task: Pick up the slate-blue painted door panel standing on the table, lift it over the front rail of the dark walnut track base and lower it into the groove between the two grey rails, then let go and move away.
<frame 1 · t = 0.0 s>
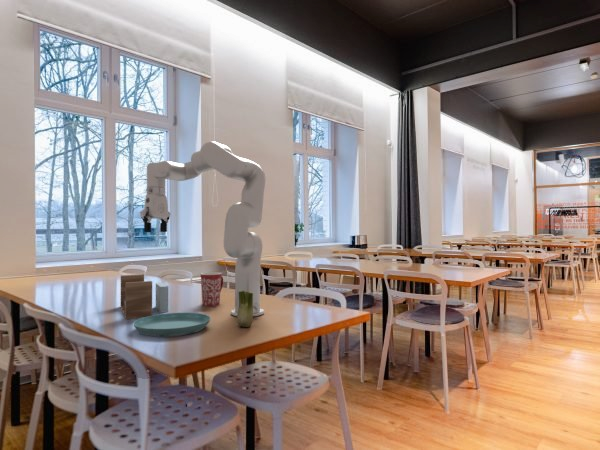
hand: (155, 232, 176), 31 cm above the table, tool pointing down, fingers open, 9 cm apart
fennel bulb: (244, 327, 138), on the table
mug: (213, 304, 179), on the table
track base: (135, 311, 162), on the table
door panel: (161, 309, 167), on the table
teal plate: (172, 330, 135), on the table
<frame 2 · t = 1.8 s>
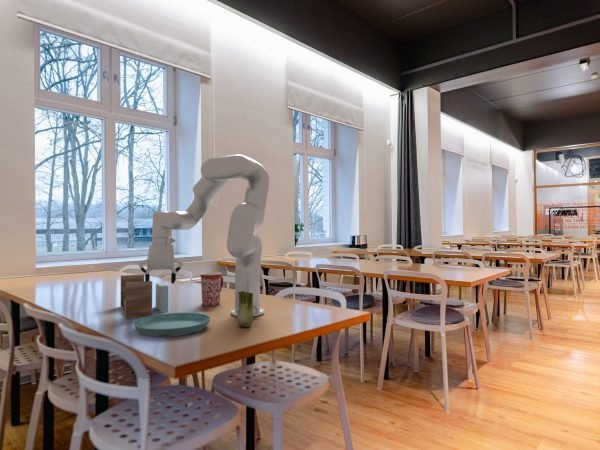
hand: (160, 283, 167), 10 cm above the table, tool pointing down, fingers open, 9 cm apart
nothing on the table moved.
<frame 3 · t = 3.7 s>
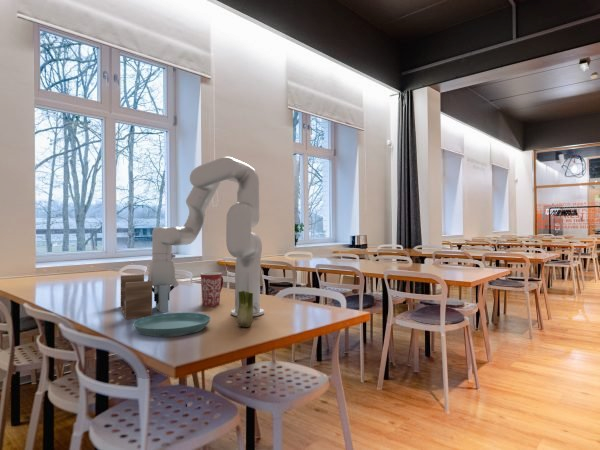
hand: (161, 302, 167), 3 cm above the table, tool pointing down, fingers closed on door panel, 3 cm apart
door panel: (161, 309, 167), on the table, touching gripper
everything else where it was.
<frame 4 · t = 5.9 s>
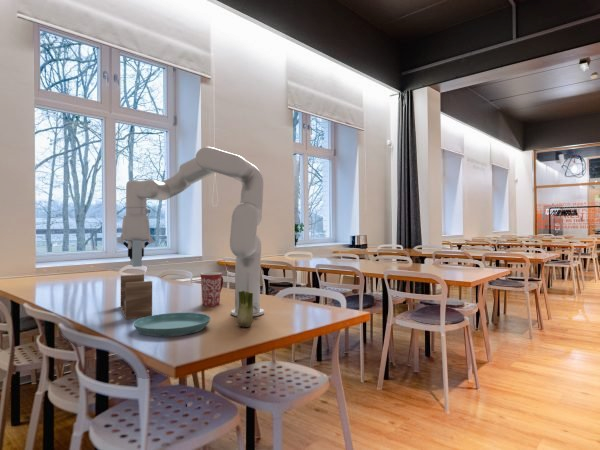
hand: (135, 258, 163), 21 cm above the table, tool pointing down, fingers closed on door panel, 3 cm apart
door panel: (135, 265, 163), point 18 cm above the table, touching gripper
everything else where it was.
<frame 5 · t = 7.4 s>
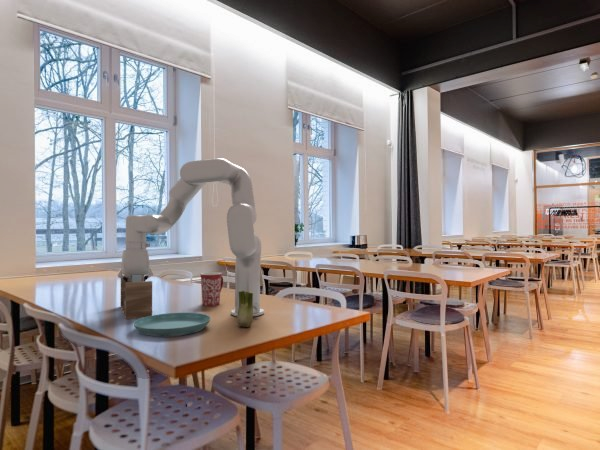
hand: (135, 292, 162), 7 cm above the table, tool pointing down, fingers closed on door panel, 3 cm apart
door panel: (135, 299, 162), point 5 cm above the table, touching gripper
everything else where it was.
when the fingers open (5 cm above the table, at t = 8.2 s): door panel stays where it is, resting on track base.
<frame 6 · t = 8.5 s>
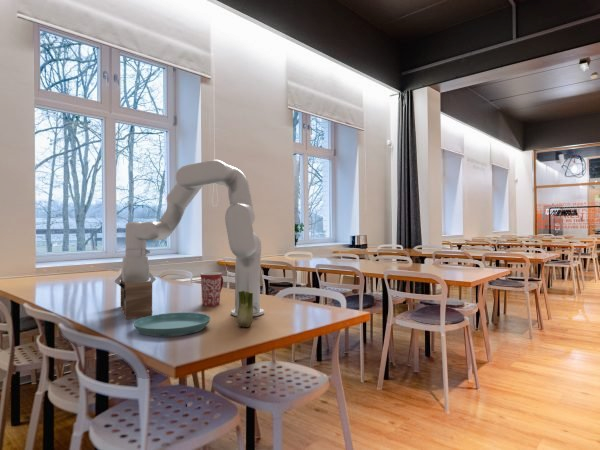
hand: (135, 298, 162), 5 cm above the table, tool pointing down, fingers open, 5 cm apart
door panel: (135, 308, 162), point 1 cm above the table, touching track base
everything else where it was.
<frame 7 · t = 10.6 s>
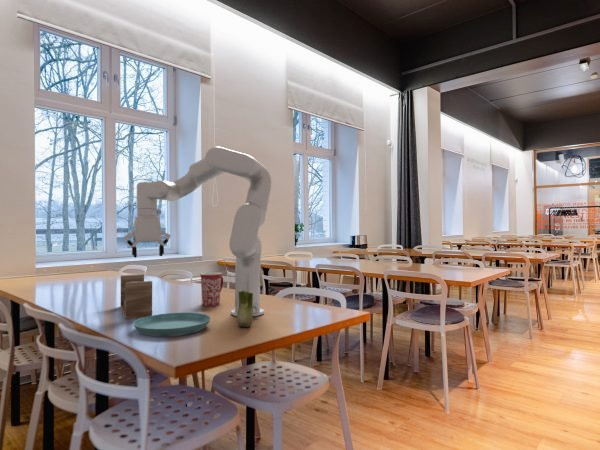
hand: (148, 256, 163), 22 cm above the table, tool pointing down, fingers open, 9 cm apart
nothing on the table moved.
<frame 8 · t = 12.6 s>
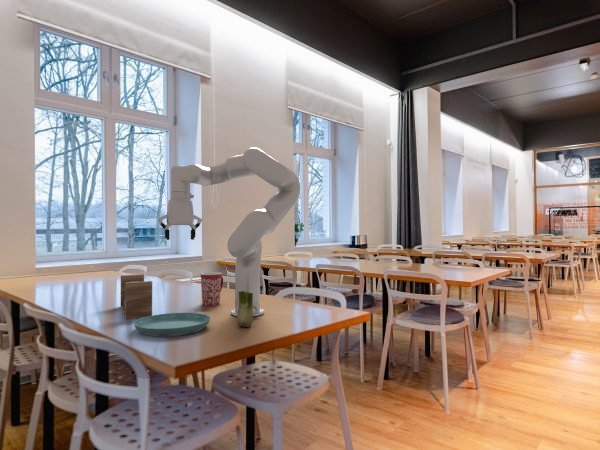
hand: (180, 239, 165), 28 cm above the table, tool pointing down, fingers open, 9 cm apart
nothing on the table moved.
at the end: door panel inside the target area on the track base (0.2 cm from its centre), point 1.0 cm above the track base's base; door panel tilted 0°; the gripper is holding nothing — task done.
